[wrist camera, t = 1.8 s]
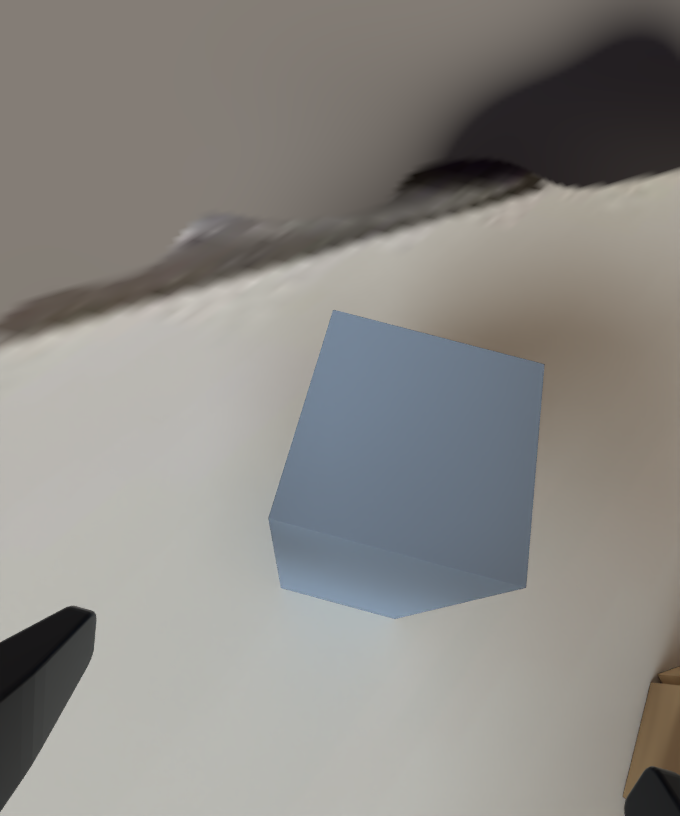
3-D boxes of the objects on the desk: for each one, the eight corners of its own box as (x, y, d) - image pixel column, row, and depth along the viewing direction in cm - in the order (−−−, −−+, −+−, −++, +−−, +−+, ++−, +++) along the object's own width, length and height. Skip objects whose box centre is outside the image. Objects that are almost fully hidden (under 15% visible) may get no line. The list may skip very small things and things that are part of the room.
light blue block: (394, 618, 19) (526, 588, 9) (281, 587, 20) (268, 518, 9) (415, 506, 21) (544, 363, 10) (312, 478, 21) (333, 309, 11)
